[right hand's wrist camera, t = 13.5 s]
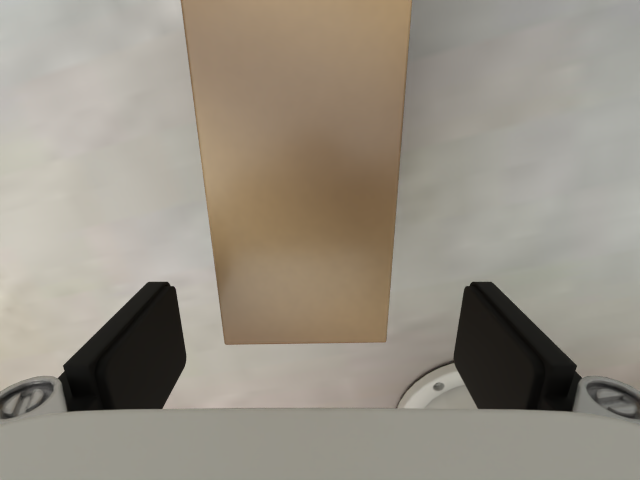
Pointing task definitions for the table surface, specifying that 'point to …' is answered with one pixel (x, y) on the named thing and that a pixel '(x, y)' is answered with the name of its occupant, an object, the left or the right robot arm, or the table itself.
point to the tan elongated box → (300, 161)
